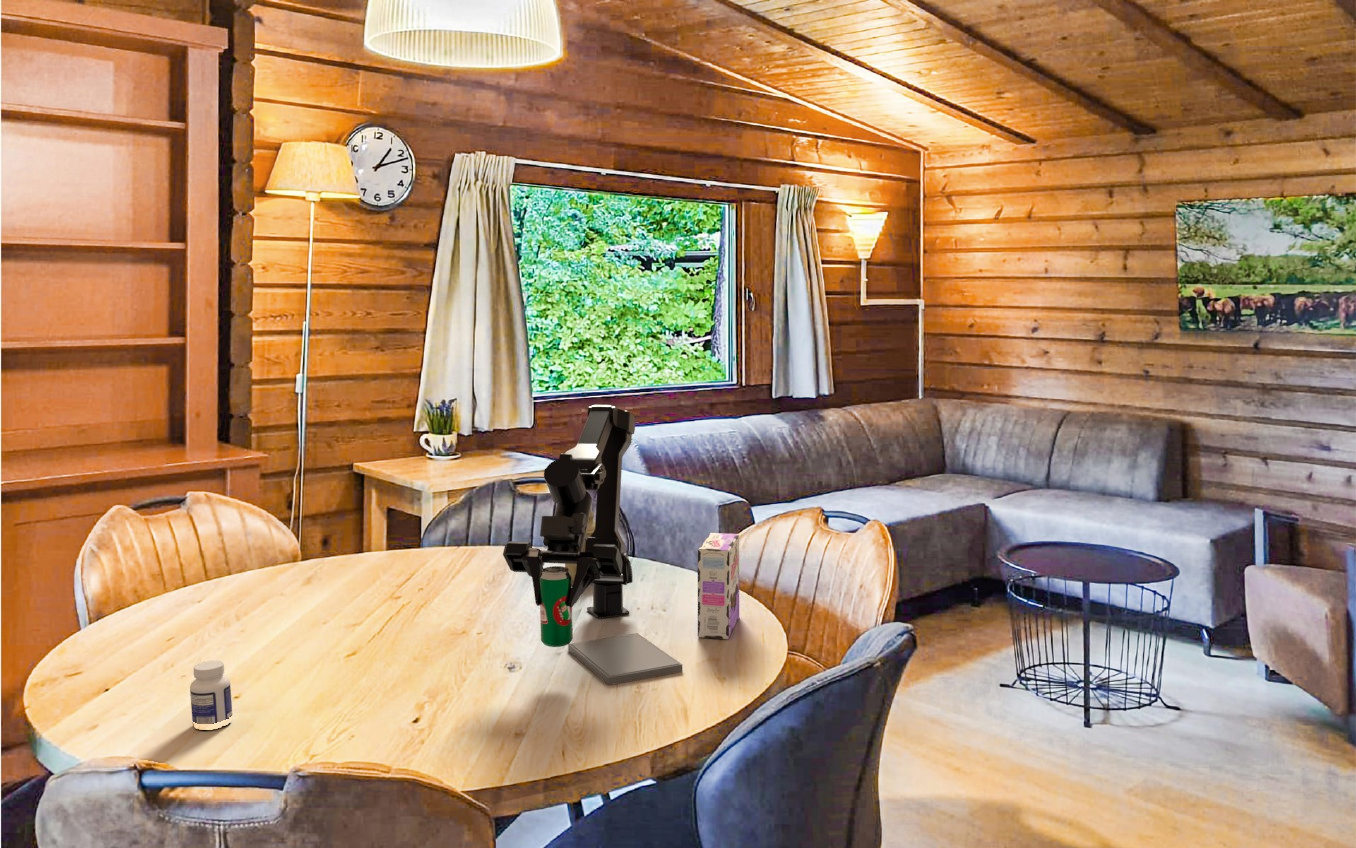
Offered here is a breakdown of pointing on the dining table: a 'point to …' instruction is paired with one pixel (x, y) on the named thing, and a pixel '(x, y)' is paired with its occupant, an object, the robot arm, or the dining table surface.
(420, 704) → the dining table surface
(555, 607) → the soda can
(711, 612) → the candy box
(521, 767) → the dining table surface
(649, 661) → the slate board
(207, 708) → the pill bottle
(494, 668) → the dining table surface
